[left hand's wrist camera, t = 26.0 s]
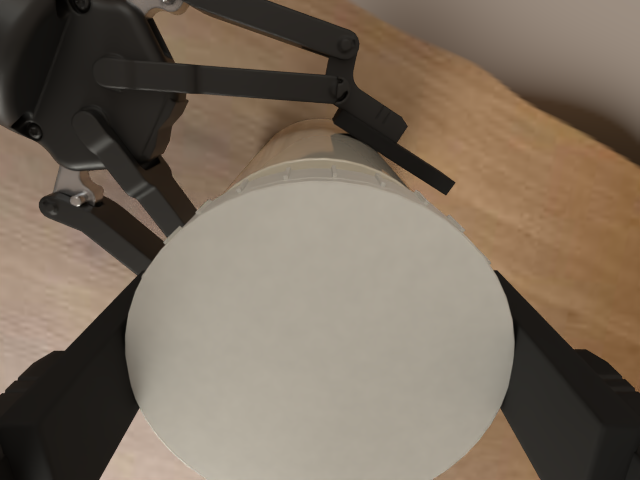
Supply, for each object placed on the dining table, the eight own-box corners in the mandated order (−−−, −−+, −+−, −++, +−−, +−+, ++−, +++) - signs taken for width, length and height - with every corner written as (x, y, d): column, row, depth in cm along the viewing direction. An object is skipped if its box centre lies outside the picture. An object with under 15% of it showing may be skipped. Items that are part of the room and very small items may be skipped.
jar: (414, 192, 29) (523, 319, 13) (315, 274, 31) (311, 465, 15) (323, 87, 26) (328, 93, 11) (223, 184, 28) (110, 304, 13)
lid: (113, 174, 11) (79, 188, 9) (511, 156, 10) (543, 168, 9) (177, 470, 14) (159, 517, 13) (477, 460, 14) (496, 506, 12)
